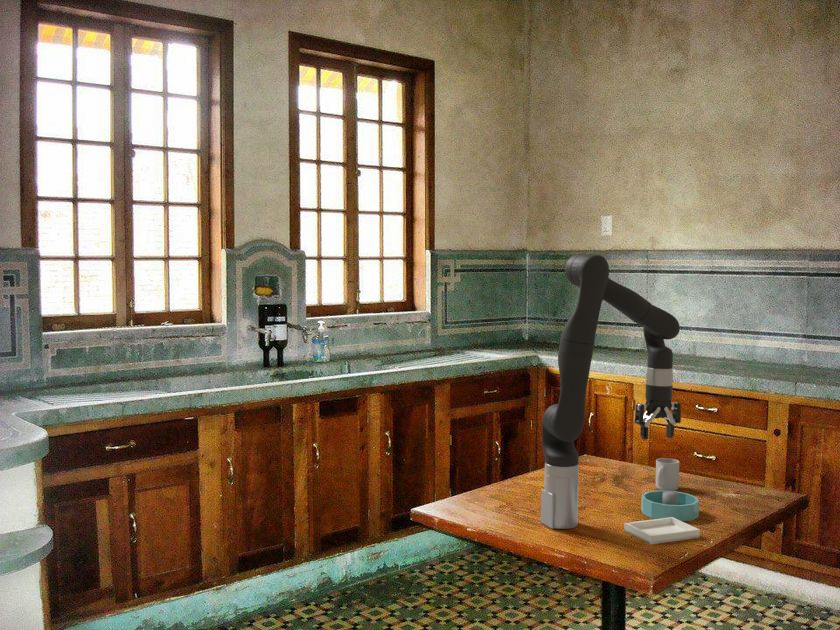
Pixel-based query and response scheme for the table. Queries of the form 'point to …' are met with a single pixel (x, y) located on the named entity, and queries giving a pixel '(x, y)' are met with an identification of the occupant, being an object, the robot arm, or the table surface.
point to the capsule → (670, 498)
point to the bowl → (670, 506)
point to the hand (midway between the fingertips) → (657, 438)
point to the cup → (667, 474)
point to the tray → (661, 530)
